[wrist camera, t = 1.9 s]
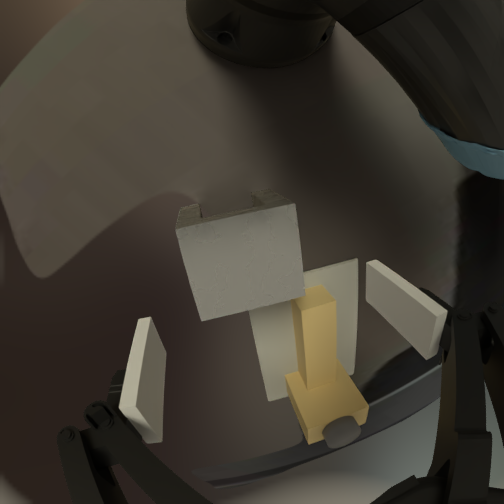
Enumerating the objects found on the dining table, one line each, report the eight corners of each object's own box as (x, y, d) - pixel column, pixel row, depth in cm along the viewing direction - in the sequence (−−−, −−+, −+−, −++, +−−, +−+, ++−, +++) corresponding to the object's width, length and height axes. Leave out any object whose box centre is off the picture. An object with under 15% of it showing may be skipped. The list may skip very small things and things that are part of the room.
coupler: (272, 297, 32) (309, 367, 21) (336, 280, 33) (392, 336, 22) (287, 393, 39) (313, 456, 28) (336, 377, 40) (371, 434, 29)
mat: (243, 286, 32) (243, 288, 31) (356, 257, 33) (358, 259, 33) (267, 399, 39) (268, 401, 39) (352, 372, 41) (353, 373, 40)
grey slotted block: (180, 207, 28) (175, 229, 20) (269, 188, 29) (295, 203, 21) (198, 280, 31) (201, 321, 23) (279, 261, 32) (305, 295, 24)
